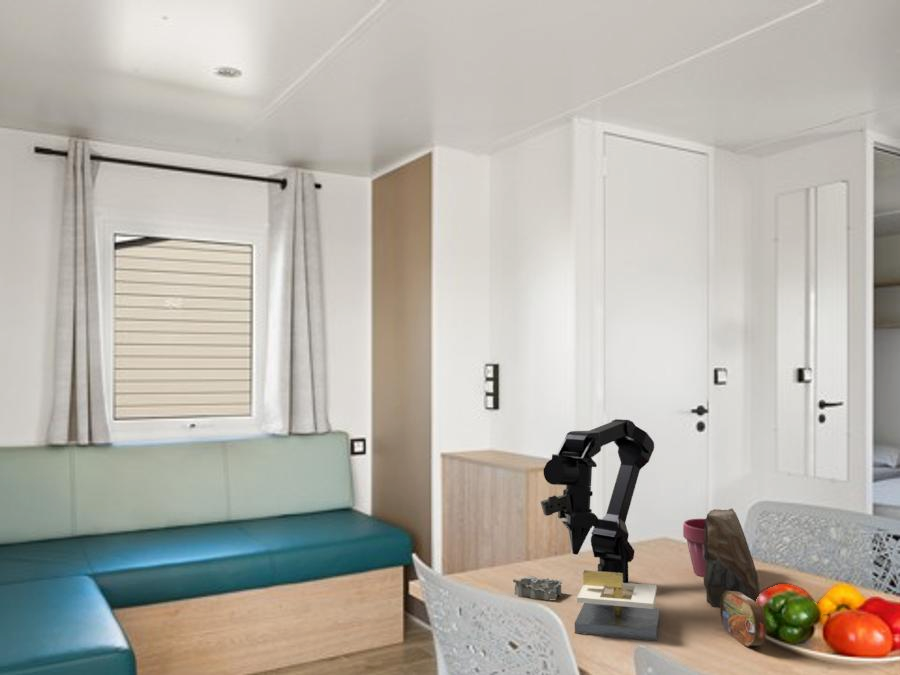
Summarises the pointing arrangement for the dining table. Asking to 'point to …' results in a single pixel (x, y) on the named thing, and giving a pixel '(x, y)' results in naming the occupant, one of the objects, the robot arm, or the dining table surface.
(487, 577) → the dining table surface
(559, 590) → the egg carton
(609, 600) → the cover
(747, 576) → the dark brown tall lump
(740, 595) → the tin
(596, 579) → the key
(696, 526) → the plant pot
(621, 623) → the grey flat block
